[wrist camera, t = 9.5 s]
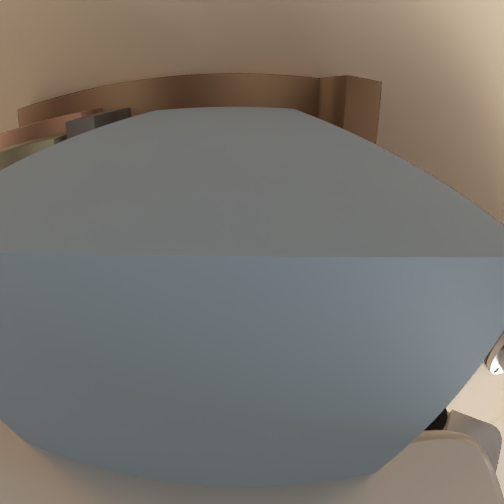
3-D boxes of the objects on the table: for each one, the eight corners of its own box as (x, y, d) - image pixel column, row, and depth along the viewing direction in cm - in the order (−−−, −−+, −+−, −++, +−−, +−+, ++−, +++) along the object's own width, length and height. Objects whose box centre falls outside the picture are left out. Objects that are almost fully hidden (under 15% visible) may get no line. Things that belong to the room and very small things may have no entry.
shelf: (339, 82, 11) (600, 129, 1) (304, 340, 20) (334, 510, 9) (28, 106, 11) (-157, 195, 1) (86, 331, 19) (31, 472, 9)
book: (295, 109, 10) (544, 257, 1) (274, 346, 16) (290, 527, 7) (154, 110, 10) (-112, 249, 1) (182, 344, 16) (156, 521, 7)
